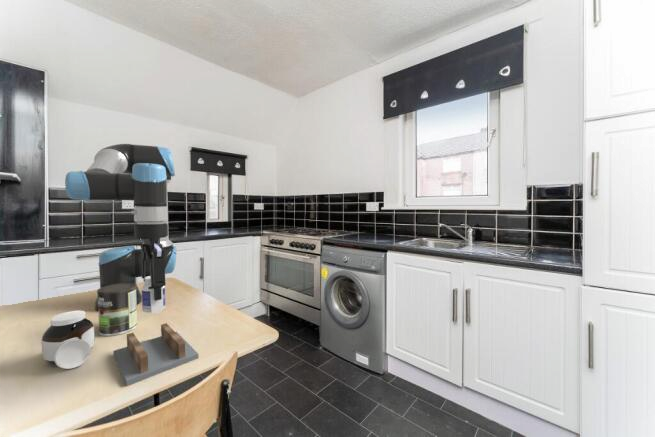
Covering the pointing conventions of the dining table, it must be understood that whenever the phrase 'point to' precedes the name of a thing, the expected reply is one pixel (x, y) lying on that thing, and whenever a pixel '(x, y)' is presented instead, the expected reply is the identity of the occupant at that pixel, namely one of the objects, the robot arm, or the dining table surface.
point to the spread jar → (68, 340)
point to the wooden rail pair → (141, 356)
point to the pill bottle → (146, 296)
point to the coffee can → (117, 309)
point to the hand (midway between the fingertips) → (154, 308)
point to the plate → (151, 359)
